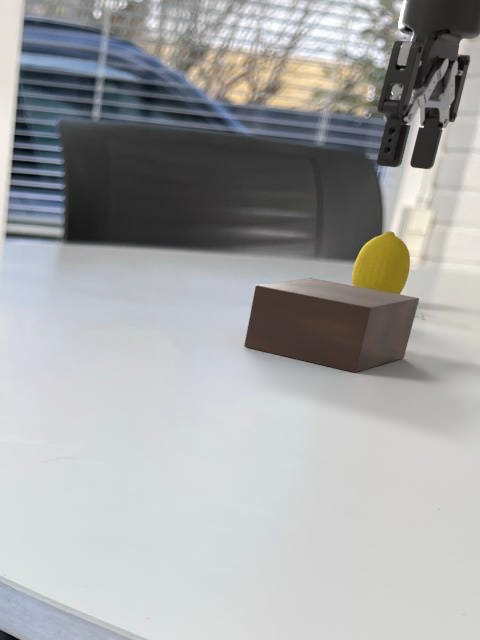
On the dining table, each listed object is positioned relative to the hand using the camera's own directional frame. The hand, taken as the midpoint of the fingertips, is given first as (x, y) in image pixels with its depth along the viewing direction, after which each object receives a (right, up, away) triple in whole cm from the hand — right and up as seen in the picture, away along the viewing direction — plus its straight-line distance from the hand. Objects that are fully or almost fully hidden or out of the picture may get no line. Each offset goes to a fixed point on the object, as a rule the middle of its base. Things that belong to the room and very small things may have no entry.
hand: (405, 167), depth 105 cm
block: (-13, -23, -15) cm, 30 cm away
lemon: (-1, -13, +7) cm, 14 cm away
